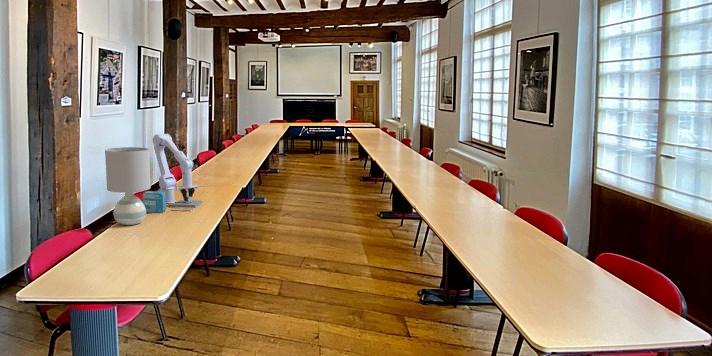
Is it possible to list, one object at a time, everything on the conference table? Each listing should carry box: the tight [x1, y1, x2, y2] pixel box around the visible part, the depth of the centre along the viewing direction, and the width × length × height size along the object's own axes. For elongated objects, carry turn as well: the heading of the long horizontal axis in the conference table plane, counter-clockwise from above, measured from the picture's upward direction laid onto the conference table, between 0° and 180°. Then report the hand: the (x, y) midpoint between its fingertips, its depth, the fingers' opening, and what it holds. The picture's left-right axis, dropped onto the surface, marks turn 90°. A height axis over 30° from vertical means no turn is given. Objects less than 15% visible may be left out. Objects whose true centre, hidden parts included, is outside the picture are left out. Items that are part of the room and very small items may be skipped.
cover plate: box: [172, 199, 203, 209], centre depth 341 cm, size 14×14×2 cm
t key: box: [182, 194, 193, 203], centre depth 341 cm, size 7×3×6 cm, turn 44°
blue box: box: [142, 190, 167, 214], centre depth 321 cm, size 12×4×12 cm, turn 88°
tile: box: [170, 207, 196, 212], centre depth 329 cm, size 12×8×1 cm, turn 88°
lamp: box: [104, 146, 151, 226], centre depth 291 cm, size 22×22×40 cm
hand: (187, 200), depth 341 cm, fingers closed on t key, 3 cm apart
